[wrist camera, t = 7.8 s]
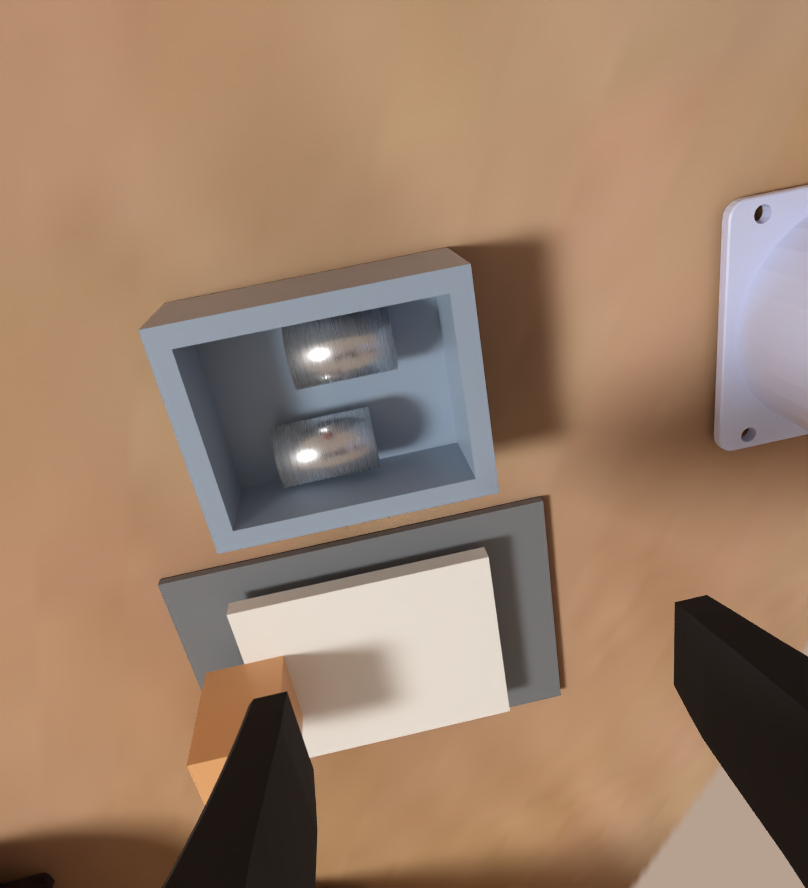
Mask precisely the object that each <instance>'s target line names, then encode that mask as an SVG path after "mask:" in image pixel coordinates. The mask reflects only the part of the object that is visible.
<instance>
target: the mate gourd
mask: <svg viewBox="0 0 808 888" xmlns="http://www.w3.org/2000/svg"><path fill="white" fill-rule="evenodd" d="M53 884H54V880H53V878H52V877H51V876H50V875H49V874H47V873H43V874H38V875H34V876H30V877H27V878H23V879H19V880H15V881H12V882H8V883H4V884H1V885H0V888H53Z"/></svg>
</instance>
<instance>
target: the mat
mask: <svg viewBox="0 0 808 888" xmlns="http://www.w3.org/2000/svg"><path fill="white" fill-rule="evenodd" d="M481 547H484V548H485V550H486V552H487V555H488V557H489V564H490V571H491V578H492V585H493V593H494V600H495V607H496V614H497V622H498V629H499V636H500V643H501V651H502V658H503V665H504V672H505V680H506V687H507V694H508V701H509V707H513V706H517V705H521V704H526V703H530V702H534V701H539V700H543V699H547V698H551V697H556V696H560V695H561V693H560V682H559V671H558V660H557V649H556V638H555V627H554V616H553V605H552V594H551V583H550V572H549V561H548V550H547V539H546V527H545V516H544V505H543V500H542V499H541V497H536V498H532V499H527V500H523V501H518V502H513V503H509V504H504V505H500V506H495V507H491V508H486V509H481V510H477V511H472V512H468V513H463V514H458V515H454V516H449V517H445V518H440V519H436V520H431V521H426V522H422V523H417V524H413V525H408V526H403V527H399V528H394V529H390V530H385V531H381V532H376V533H371V534H367V535H362V536H358V537H353V538H348V539H344V540H339V541H335V542H330V543H326V544H321V545H316V546H312V547H307V548H303V549H298V550H293V551H289V552H284V553H280V554H275V555H271V556H266V557H261V558H257V559H252V560H248V561H243V562H238V563H234V564H229V565H225V566H220V567H216V568H211V569H206V570H202V571H197V572H193V573H188V574H183V575H179V576H174V577H170V578H165V579H161V580H160V581H159V584H158V586H159V589H160V591H161V594H162V596H163V599H164V601H165V603H166V606H167V608H168V611H169V613H170V615H171V618H172V620H173V623H174V625H175V628H176V630H177V632H178V635H179V637H180V640H181V642H182V645H183V647H184V649H185V652H186V654H187V657H188V659H189V661H190V664H191V666H192V669H193V671H194V674H195V676H196V678H197V681H198V683H199V686H200V688H201V690H202V689H203V684H204V679H205V674H206V673H208V672H212V671H217V670H221V669H226V668H230V667H234V666H239V665H243V664H244V661H243V659H242V656H241V653H240V650H239V648H238V645H237V642H236V640H235V637H234V634H233V631H232V629H231V626H230V623H229V620H228V618H227V610H228V605H229V603H232V602H237V601H241V600H246V599H250V598H255V597H259V596H264V595H268V594H273V593H277V592H282V591H287V590H291V589H296V588H300V587H305V586H309V585H314V584H318V583H323V582H327V581H332V580H336V579H341V578H345V577H350V576H355V575H359V574H364V573H368V572H373V571H377V570H382V569H386V568H391V567H395V566H400V565H404V564H409V563H413V562H418V561H423V560H427V559H432V558H436V557H441V556H445V555H450V554H454V553H459V552H463V551H468V550H472V549H477V548H481Z"/></svg>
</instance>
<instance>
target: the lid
mask: <svg viewBox="0 0 808 888" xmlns="http://www.w3.org/2000/svg"><path fill="white" fill-rule="evenodd" d="M227 618H228V620H229V623H230V626H231V629H232V631H233V634H234V637H235V640H236V642H237V645H238V648H239V650H240V653H241V656H242V659H243V661H244V664H243V665H239V666H234V667H230V668H226V669H221V670H217V671H212V672H208V673H206V674H205V679H204V684H203V689H202V694H201V699H200V704H199V709H198V713H197V718H196V723H195V728H194V733H193V738H192V743H191V748H190V753H189V758H188V763H187V768H188V770H189V772H190V774H191V776H192V778H193V781H194V783H195V785H196V787H197V789H198V792H199V794H200V796H201V798H202V800H203V803H204V805H206V803H207V801H208V799H209V796H210V794H211V792H212V790H213V788H214V786H215V784H216V782H217V780H218V777H219V775H220V773H221V771H222V769H223V766H224V764H225V762H226V760H227V757H228V755H229V753H230V750H231V748H232V746H233V743H234V741H235V739H236V736H237V734H238V731H239V729H240V726H241V724H242V721H243V719H244V716H245V714H246V711H247V709H248V706H249V704H250V703H251V702H252V700H253V699H255V698H260V697H264V696H268V695H273V694H277V693H281V692H286V691H287V692H288V695H289V698H290V701H291V704H292V707H293V710H294V713H295V716H296V719H297V722H298V725H299V728H300V731H301V734H302V737H303V740H304V743H305V746H306V749H307V752H308V755H309V758H311V757H315V756H319V755H324V754H328V753H332V752H337V751H341V750H345V749H349V748H354V747H358V746H362V745H367V744H371V743H375V742H379V741H384V740H388V739H392V738H397V737H401V736H405V735H409V734H414V733H418V732H422V731H427V730H431V729H435V728H439V727H444V726H448V725H452V724H457V723H461V722H465V721H469V720H474V719H478V718H482V717H487V716H491V715H495V714H499V713H504V712H508V711H510V709H509V701H508V694H507V687H506V680H505V672H504V665H503V658H502V651H501V643H500V636H499V629H498V622H497V614H496V607H495V600H494V593H493V585H492V578H491V571H490V564H489V557H488V555H487V552H486V550H485V548H484V547H481V548H477V549H472V550H468V551H463V552H459V553H454V554H450V555H445V556H441V557H436V558H432V559H427V560H423V561H418V562H413V563H409V564H404V565H400V566H395V567H391V568H386V569H382V570H377V571H373V572H368V573H364V574H359V575H355V576H350V577H345V578H341V579H336V580H332V581H327V582H323V583H318V584H314V585H309V586H305V587H300V588H296V589H291V590H287V591H282V592H277V593H273V594H268V595H264V596H259V597H255V598H250V599H246V600H241V601H237V602H232V603H229V605H228V610H227Z"/></svg>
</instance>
